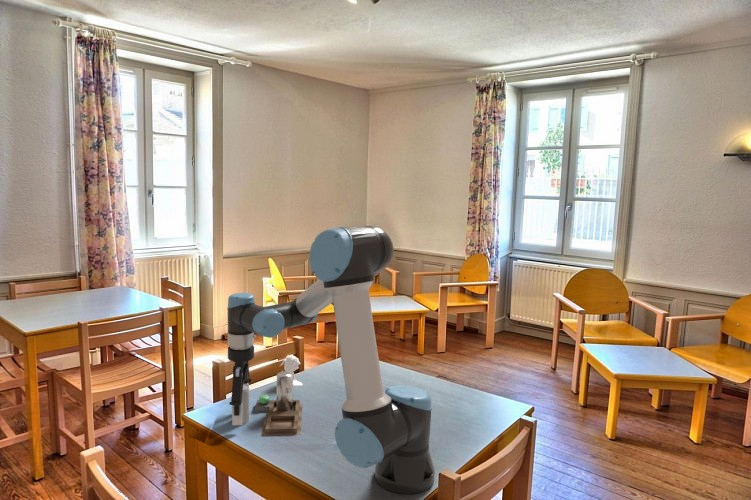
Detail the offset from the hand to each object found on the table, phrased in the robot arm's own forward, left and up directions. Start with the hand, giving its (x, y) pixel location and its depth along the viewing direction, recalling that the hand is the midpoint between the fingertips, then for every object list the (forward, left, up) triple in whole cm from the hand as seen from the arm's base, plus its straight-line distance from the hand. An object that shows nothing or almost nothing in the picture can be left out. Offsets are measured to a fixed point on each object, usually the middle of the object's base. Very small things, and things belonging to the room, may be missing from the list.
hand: (240, 413), depth 152 cm
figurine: (+27, -13, -4) cm, 30 cm away
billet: (+6, -13, -2) cm, 14 cm away
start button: (+8, -6, 0) cm, 10 cm away
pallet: (+1, -11, -4) cm, 11 cm away
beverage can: (0, 0, -4) cm, 4 cm away
